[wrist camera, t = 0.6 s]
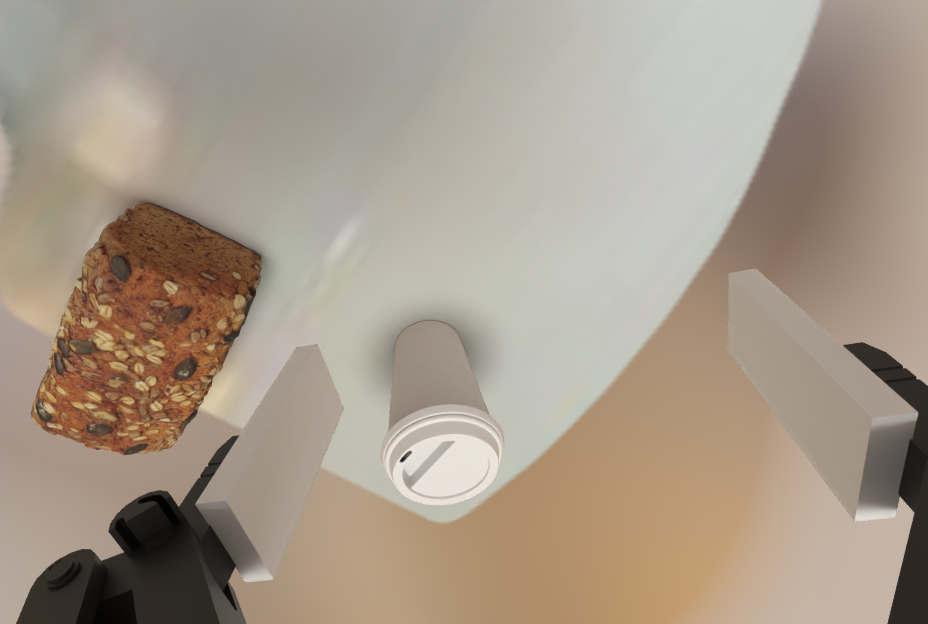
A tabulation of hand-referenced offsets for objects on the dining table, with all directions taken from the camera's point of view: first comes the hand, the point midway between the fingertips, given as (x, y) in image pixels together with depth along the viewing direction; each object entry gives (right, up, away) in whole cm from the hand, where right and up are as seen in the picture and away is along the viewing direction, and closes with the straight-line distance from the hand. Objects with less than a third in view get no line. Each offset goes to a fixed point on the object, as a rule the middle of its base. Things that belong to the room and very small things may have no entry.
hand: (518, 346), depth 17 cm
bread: (-27, +1, +28) cm, 39 cm away
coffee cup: (-5, -2, +34) cm, 34 cm away
